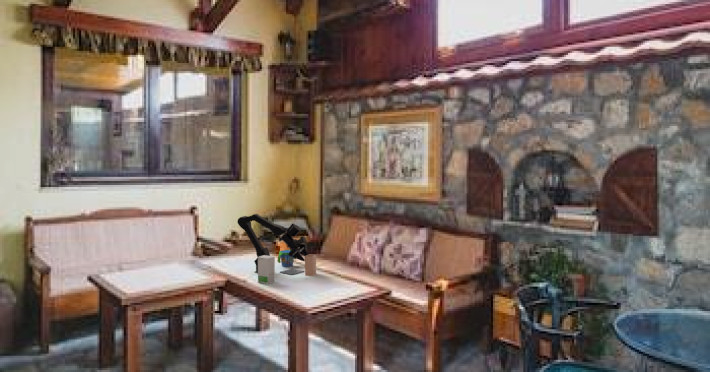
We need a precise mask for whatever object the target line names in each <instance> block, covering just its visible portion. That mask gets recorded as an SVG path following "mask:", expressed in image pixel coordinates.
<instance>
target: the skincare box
mask: <svg viewBox="0 0 710 372" xmlns="http://www.w3.org/2000/svg"><path fill="white" fill-rule="evenodd" d="M257 258H258V273H257V283H260V284H267V285H269V284H272V283H275V281H276V280H275V279H276V278H275V275H276V274H275V270H276V269H275V266H276V264H275V262H276V261H275V258H276V257H275V256H271V255H270V256H267V255H263V256H259V257H257Z"/></svg>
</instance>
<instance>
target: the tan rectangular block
mask: <svg viewBox="0 0 710 372" xmlns="http://www.w3.org/2000/svg"><path fill="white" fill-rule="evenodd" d="M304 260H305V261H304V275H305V276H309V277H311V276H312V277H313V276H315V275H317V255H316V254H309V255H306V256H304Z"/></svg>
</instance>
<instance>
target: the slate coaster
mask: <svg viewBox="0 0 710 372" xmlns="http://www.w3.org/2000/svg"><path fill="white" fill-rule="evenodd" d="M301 273H305V270H302V269H297V268H289V269H285V270H282V271H279V274H284V275H290V276H294V275H297V274H301Z"/></svg>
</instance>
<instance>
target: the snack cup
mask: <svg viewBox="0 0 710 372" xmlns="http://www.w3.org/2000/svg"><path fill="white" fill-rule="evenodd" d="M290 251H291V249H284V250H280V251H279V252H278V253H279V254H277V255H278V256H277V263H279V264H280V263H281V266H282V267H284V268H289V267H293V266H294V261H295V260H297V259H296V258H292V257H290V256H289V255H288V253H289V252H290Z"/></svg>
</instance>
